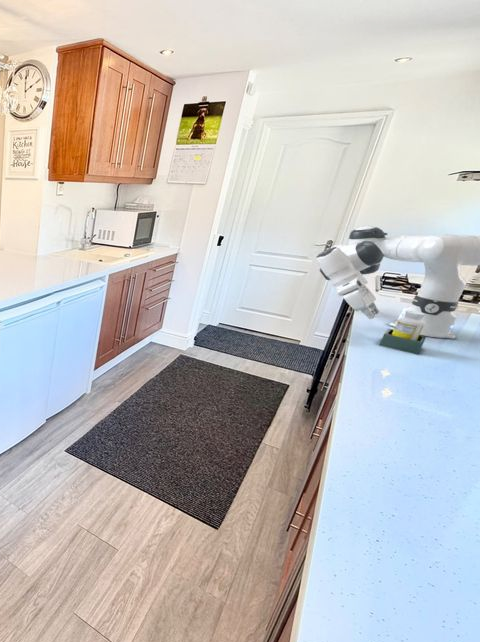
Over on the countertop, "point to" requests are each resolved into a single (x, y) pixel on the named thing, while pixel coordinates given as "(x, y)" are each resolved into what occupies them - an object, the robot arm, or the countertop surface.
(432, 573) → the countertop surface
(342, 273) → the robot arm
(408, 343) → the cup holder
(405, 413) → the countertop surface
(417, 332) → the supplement bottle
